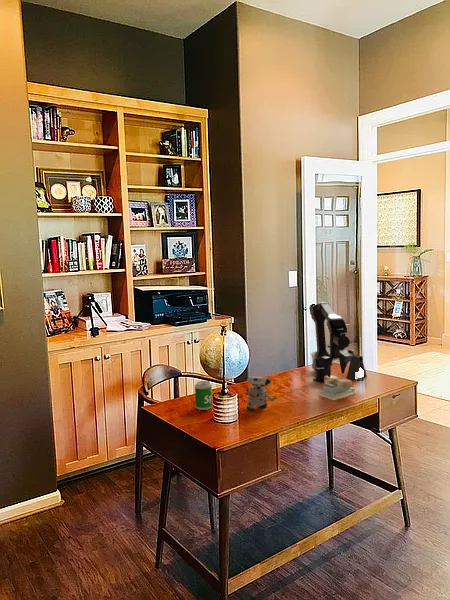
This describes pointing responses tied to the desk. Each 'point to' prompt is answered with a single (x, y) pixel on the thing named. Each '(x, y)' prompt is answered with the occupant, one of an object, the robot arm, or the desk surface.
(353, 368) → the phone stand
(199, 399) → the soda can
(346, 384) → the tan rectangular bar
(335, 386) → the light blue block
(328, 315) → the robot arm
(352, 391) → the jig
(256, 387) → the figurine
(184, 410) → the desk surface
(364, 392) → the desk surface
